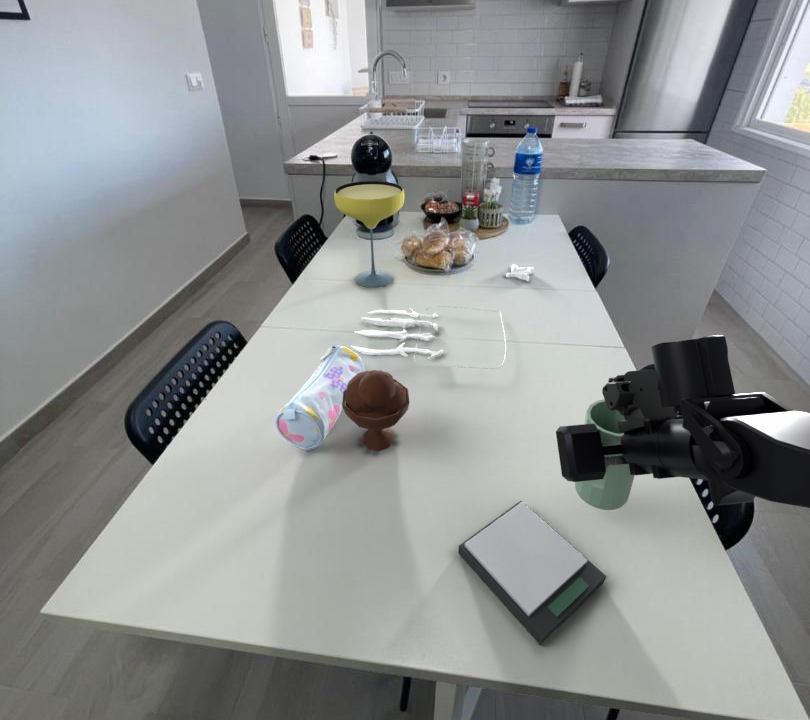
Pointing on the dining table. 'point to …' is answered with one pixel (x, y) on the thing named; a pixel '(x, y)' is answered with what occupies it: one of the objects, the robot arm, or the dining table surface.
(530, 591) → the scale
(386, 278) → the cocktail glass
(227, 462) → the dining table surface
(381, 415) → the ice cream bowl
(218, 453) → the dining table surface
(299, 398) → the pencil case
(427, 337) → the knife set
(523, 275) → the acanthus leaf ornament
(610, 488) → the tumbler
